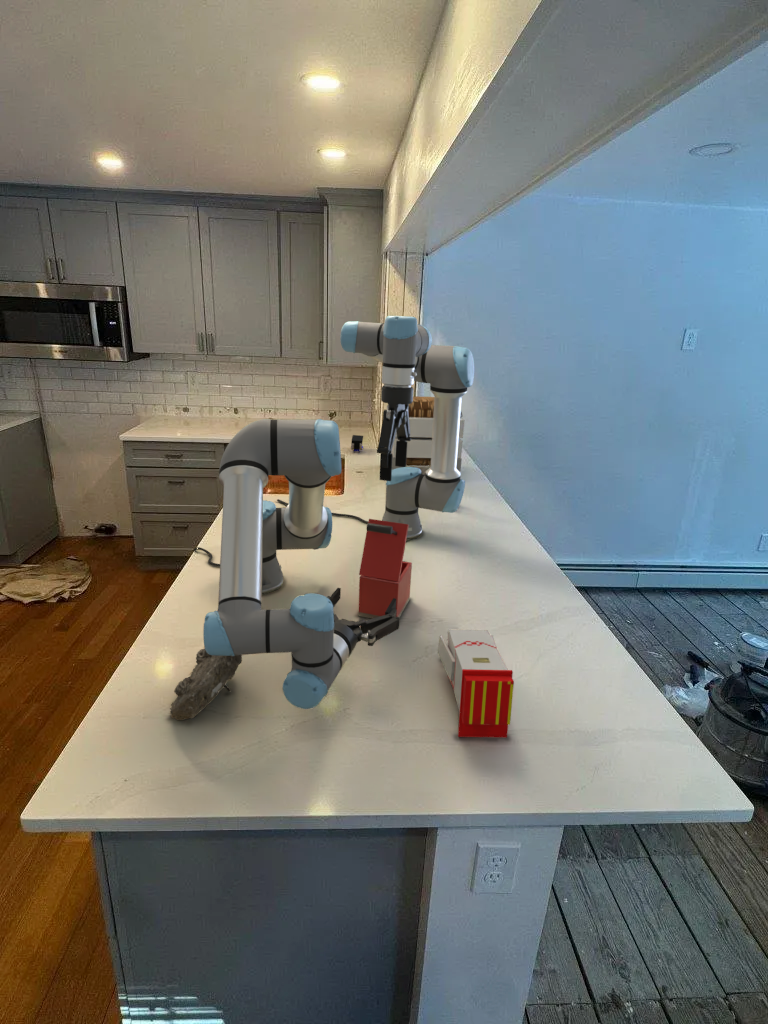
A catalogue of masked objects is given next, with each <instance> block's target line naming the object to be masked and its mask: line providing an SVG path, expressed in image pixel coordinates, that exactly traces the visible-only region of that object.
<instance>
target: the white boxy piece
mask: <svg viewBox="0 0 768 1024" xmlns="http://www.w3.org/2000/svg"><path fill="white" fill-rule="evenodd" d="M388 407H389V404H388V403H387V405H386V410H388ZM408 413H409V426H410V437H411V441H406V442H407V459H406V467H417V466H418V467H431V449H432V431H433V414H434V396H415V395H413V402H412V403H410V404H409V408H408ZM464 429H465V419H464V418H463V411H461V414H460V427H459V440H458V453H457V466H456V468H457V470H458V471H459V472H460V475H461V472H462V461H463V460H462V453H463V442H464V441H463V440H462V439H463V438H464V431H465V430H464ZM396 441H400V440H398V438H397V433H396V435H395V439H394V443H393V447H392V452H391V453H392V454H393V457H392V470H393V469H397V468H402V467H399V466H395V460H396ZM385 448H386V447H385Z"/></svg>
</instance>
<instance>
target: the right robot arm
mask: <svg viewBox="0 0 768 1024" xmlns="http://www.w3.org/2000/svg"><path fill="white" fill-rule="evenodd" d="M340 345H341V348H342V350H343V351H345V352H347V353H353V354H362V355H365V356H366V357H369V358H371V359H373V360H375V361H377V362H378V363H379V362H380V363H382V365H381V384H383V385H382V386H381V395H380V400H381V402H382V403H384V404H387V405H388V404H389V407H388V410H387V409H383V411H382V413H383V414H382V422H381V428H380V434H379V440H378V446H377V449H376V453H377V454H380V457H379V459H380V460H379V478H378V479H379V481H384V482H385V481H386V482H385V504H384V505H385V507H384V508H385V509H384V513H383V515H382V519H381V521H388V522H395V523H402V524H408V525H409V527H408V533H407V538H406V541H410V540H415V539H418V538H420V537H421V536H422V535H423V525H422V524H421V518H420V515H419V509H424V510H430V511H435V512H441V513H450V514H453V513H456V512H457V511H458V509H459V508H460V505H461V502H462V500H463V496H464V493H465V492H464V491H465V489H466V480H465V479H463V478H461V474H460V472H459V471H458V470H457V468H456V466H457V453H458V440H459V427H460V414H461V412H462V401H463V400H462V398H463V396H464V395H466V394H467V393H468V388H471V387H472V386H473V384H474V379H475V378H474V377H475V361H474V360H475V359H474V356H473V352H472V351H471V350H470V349H469V348H468V347H464V346H459V345H458V346H457V345H441V344H440V345H439V344H433V336H432V333H431V332H430V330H429V328H427V327H426V326H424V325H422V324H419V323H418V320H417V317H415V316H410V315H409V316H406V315H388V316H386V317H385V319H384V322H383V323H382V322H368V321H367V322H366V321H359V320H356V321H346V322H345V323H344V324H343V325H342V327H341V329H340ZM415 382H417V383H420V384H421V383H422V384H429V391H430V392H431V393H432V394H433V397H434V414H433V431H432V449H431V465H430V466H429V468H427V469H426V470H425V473H422V469H421V468H419V467H417V466H407V465H406V459H407V442H406V441H411V437H410V426H409V413H408V408H409V404H410V403H412V402H413V396H414V390H415V389H414V387H413V385H414V384H415ZM396 433H397V438H398V440H400V441H396V460H395V466H399V467H402V468H397V469H393V470H392V457H393V454H392V453H391V452H392V447H393V443H394V439H395V435H396ZM385 447H386V448H385ZM276 501H277V502H278V503H280V504H283V505H285V506H286V507H287V506H288V504H289V502H286V501H283V500H281V499H279V498H278V499H277V500H276ZM331 513H332V516H334V517H335V516H336V517H345V518H352V519H356V520H358V521H360V522H362V523H363V524H366V525H367V524H368V522H369V520H365V519H363V518H361V517H359V516H356V515H353V514H348V513H347V514H346V513H337V512H331Z"/></svg>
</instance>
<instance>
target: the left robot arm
mask: <svg viewBox="0 0 768 1024" xmlns="http://www.w3.org/2000/svg"><path fill="white" fill-rule="evenodd" d="M341 453H342V452H341V440H340V430H339V425H338V423H337V422H336V421H335V420H326V419H321V418H317V419H273V418H263V419H258V420H255V421H252V422H250V423H248V424H246V425H245V426H244V427H242V428H241V429H240V430H239V431H237V433H235V434H234V436H233V437H232V438H231V440H230V441H229V443H228V444H227V445H226V447H225V449H224V451H223V453H222V455H221V456H222V457H221V459H220V463H219V470H218V481H219V484H221V485H222V487H223V494H222V495H223V496H222V515H221V516H222V517H221V534H220V536H221V538H220V539H221V540H220V559H219V563H217V562H213V561H212V559H213V553H211V552H210V551H208V550H207V549H205V548H203V547H198V546H197V547H195V548H193V550H192V551H193V552H196V551H198V550H199V551H202V552H204V553H206V554H207V555H208V556H209V558H208V560H207V561H208V564H209V565H212V566H215V567H219V579H218V598H217V599H218V601H217V604H218V605H217V610H214V611H209V612H207V613H206V614H205V617H204V623H203V631H202V633H203V634H202V635H203V646H204V649H205V650H206V652H207V653H208V654H209V655H217V656H235V655H242V656H245V655H257V654H281V653H290V655H291V668H290V671H288V673H287V674H286V676H285V678H284V680H283V682H282V693H283V695H284V697H285V699H286V700H287V701H288V702H289V704H291V705H292V706H293V707H295V708H298V709H301V710H311V709H314V708H316V707H318V706H319V704H320V703H321V702H322V700H323V699H324V697H326V696H327V694H328V693H329V690H330V688H331V687H332V685H333V684H334V682H335V680H336V678H337V677H338V675H339V674H340V672H341V670H342V669H343V667H344V666H345V664H346V662H347V661H348V659H349V658H350V656H351V655H352V653H353V652H354V650H355V648H356V647H357V644H358V643H360V642H361V641H364V642H366V643H367V646H369V647H373V646H374V645H375V644H376V642H378V641H380V640H381V639H383V638H385V637H387V636H388V635H390V634H392V633H395V632H396V631H397V630H399V629H400V623H401V617H400V618H399V617H396V613H397V610H396V599H395V598H393V600H392V601H391V603H390V605H389V606H388V608H387V610H386V611H385V615H383V616H380V617H376V618H373V619H372V618H369V619H367V620H364V619H359V620H357V621H355V620H348V619H346V618H341V619H340V618H339V617H338V615H337V614H335V613H334V612H335V611H334V607H335V606H336V605H337V603H338V602H339V601H340V600H341V598H342V597H341V591H342V588H341V587H337V588H336V589H335V590H334V591H333V592H332V594H331V595H328V596H326V595H323V594H319V593H313V592H312V593H311V592H309V593H308V592H307V593H304V595H298V596H295V598H293V599H292V601H291V603H290V607H289V608H276V609H275V608H273V609H272V608H271V609H270V608H269V609H262V603H263V595H267V594H271V593H273V592H276V591H277V590H279V589H280V588H281V587H282V586H283V584H284V581H285V580H284V579H285V578H284V573H283V571H282V568H283V567H282V564H280V562H279V559H278V557H277V556H278V555H277V551H286V550H287V551H288V550H290V551H291V550H320V549H326V548H327V547H329V545H330V543H331V541H332V534H333V515H332V513H333V512H332V511H331V508H330V507H328V506H324V501H325V492H326V484H327V483H328V482H329V481H330V480H331V478H332V477H336V476H340V475H341V474H342V467H343V466H342V454H341ZM269 476H283V477H284V478H285V479H286V480H287V481H288V506H287V505H286V507H277V505H276V503H275V502H273V501H271V500H265V499H264V488H265V487H266V486H267V485H268V483H269ZM197 548H198V549H197Z"/></svg>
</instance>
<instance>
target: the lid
mask: <svg viewBox="0 0 768 1024" xmlns="http://www.w3.org/2000/svg"><path fill="white" fill-rule="evenodd" d="M368 521H369V522H368V524H366V533H365V539H364V544H363V549H362V554H361V555H362V556H361V562H360V565H359V566H360V567H359V573H358V575H359V576H361V575H363V576H368V577H374V578H380V579H386V580H391V581H397V582H399V580H400V574H401V568H402V562H403V561H404V556H405V550H406V545H407V540H406V538H407V533H408V527H409V525H408V524H402V523H395V522H388V521H382V519H375V518H369V519H368Z"/></svg>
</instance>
